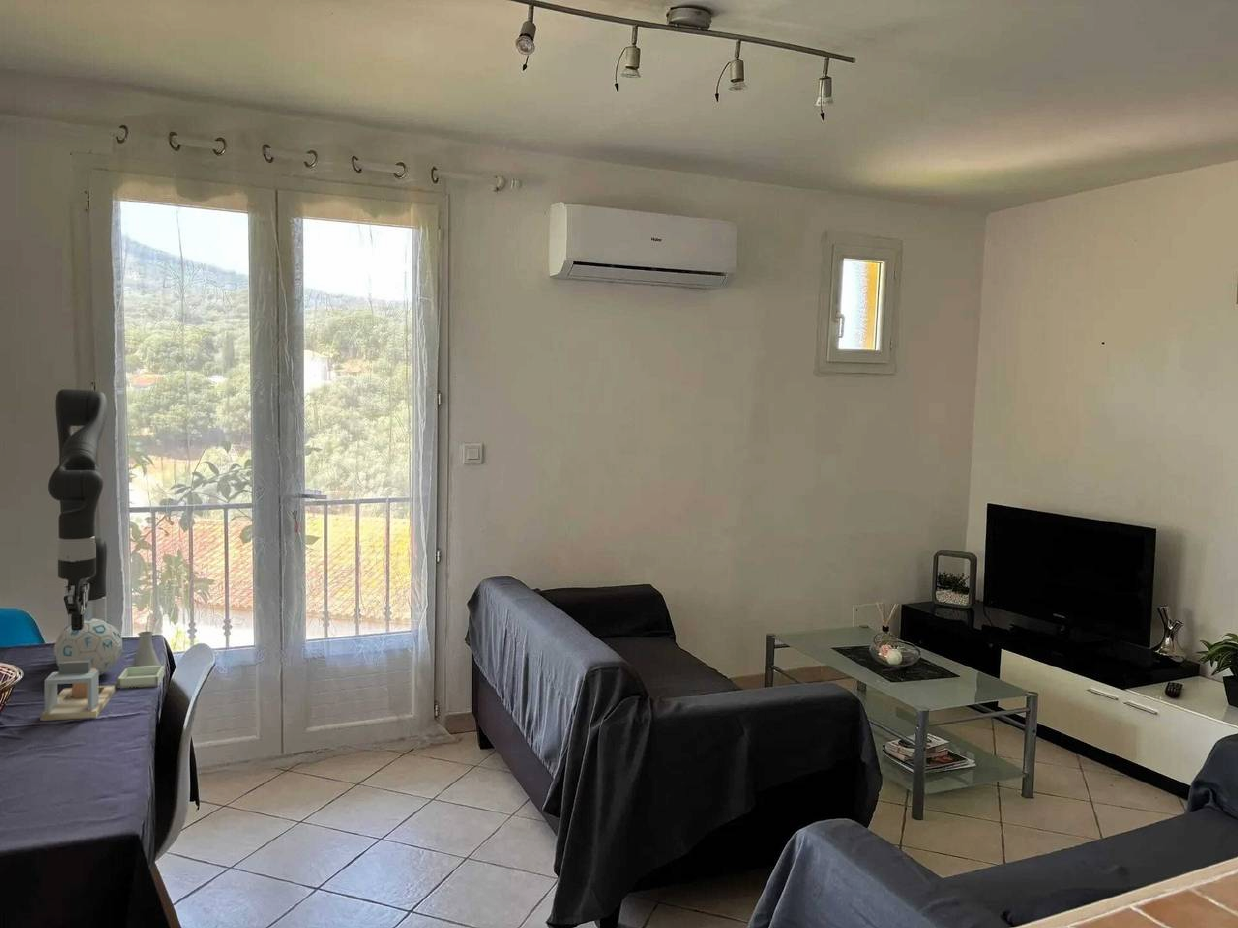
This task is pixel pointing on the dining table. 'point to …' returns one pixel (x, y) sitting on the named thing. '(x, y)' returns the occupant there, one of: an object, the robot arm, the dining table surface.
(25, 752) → the dining table surface
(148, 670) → the pale sage tray
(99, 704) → the puzzle board
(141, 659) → the flask
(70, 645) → the puzzle ball
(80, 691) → the terracotta block
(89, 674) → the sliding cover
